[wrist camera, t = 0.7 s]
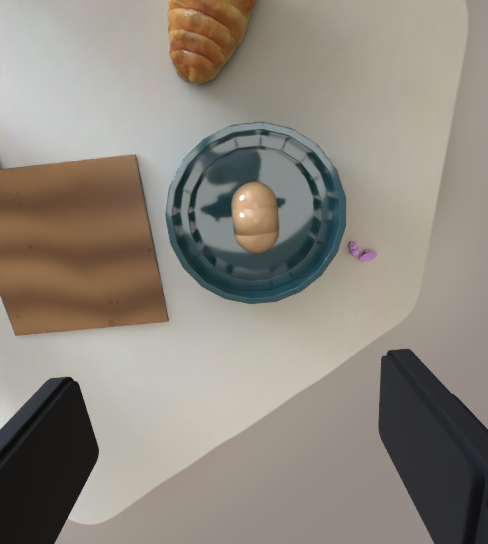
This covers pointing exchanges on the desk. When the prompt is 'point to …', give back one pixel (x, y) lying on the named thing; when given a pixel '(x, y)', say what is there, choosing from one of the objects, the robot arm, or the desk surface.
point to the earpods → (355, 252)
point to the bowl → (291, 211)
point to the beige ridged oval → (255, 217)
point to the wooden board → (77, 247)
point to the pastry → (205, 35)
